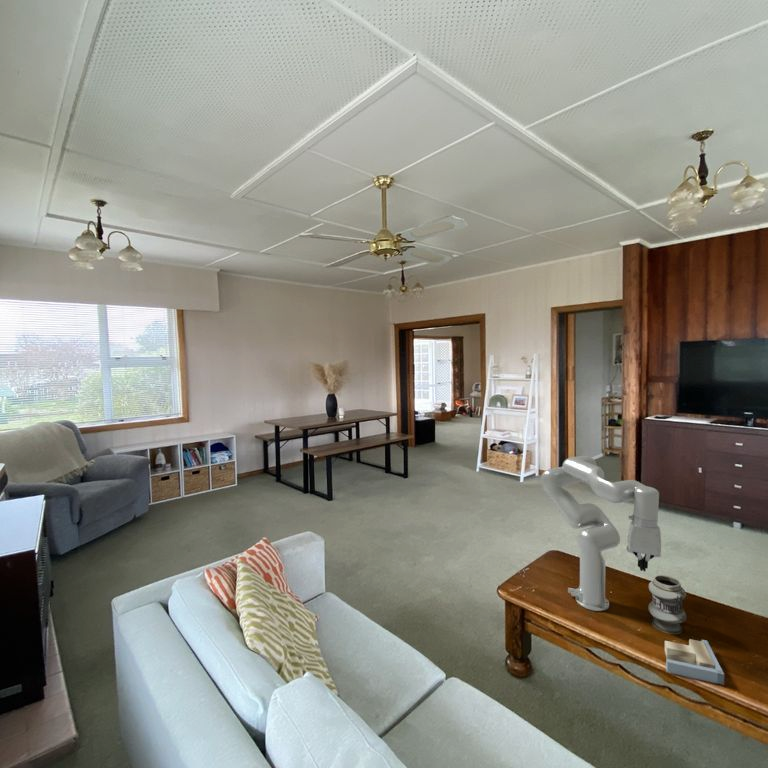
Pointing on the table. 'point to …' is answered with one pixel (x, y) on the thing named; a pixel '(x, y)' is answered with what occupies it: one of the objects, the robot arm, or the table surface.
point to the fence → (698, 669)
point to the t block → (689, 653)
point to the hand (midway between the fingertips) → (642, 569)
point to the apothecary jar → (667, 604)
